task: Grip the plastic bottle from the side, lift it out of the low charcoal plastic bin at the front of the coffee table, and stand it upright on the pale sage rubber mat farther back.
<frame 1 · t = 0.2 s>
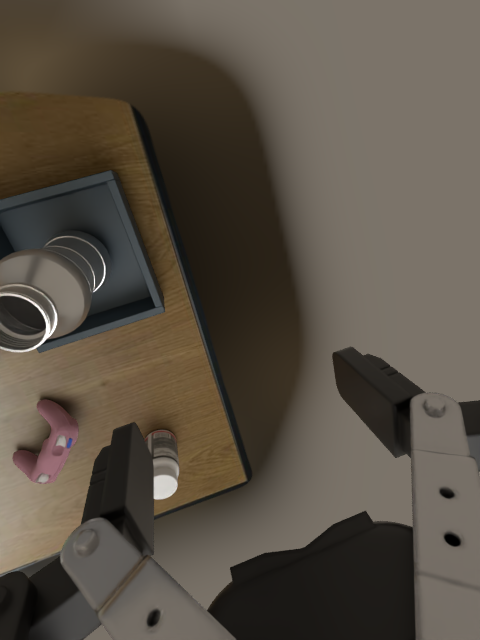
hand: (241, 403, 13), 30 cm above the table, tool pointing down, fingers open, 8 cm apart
bin: (83, 257, 37), on the table
pink curved plastic piece: (52, 429, 44), on the table
pill bottle: (160, 440, 49), on the table
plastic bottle: (82, 257, 37), resting on bin
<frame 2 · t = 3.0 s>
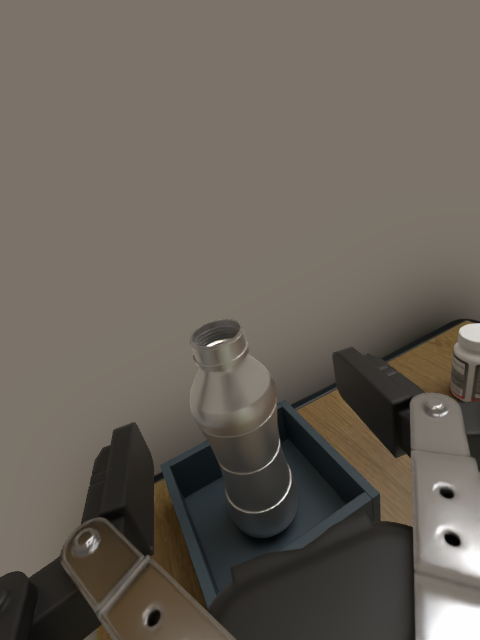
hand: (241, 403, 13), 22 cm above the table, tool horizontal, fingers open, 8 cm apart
bin: (267, 515, 32), on the table
pill bottle: (473, 393, 39), on the table
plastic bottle: (267, 513, 32), resting on bin
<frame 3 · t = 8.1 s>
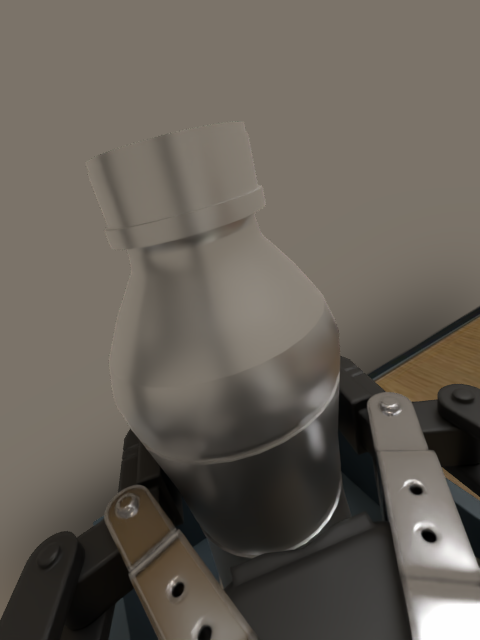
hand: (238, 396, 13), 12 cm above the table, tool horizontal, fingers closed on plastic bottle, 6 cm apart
bin: (306, 612, 16), on the table
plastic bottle: (305, 608, 16), resting on bin, touching gripper
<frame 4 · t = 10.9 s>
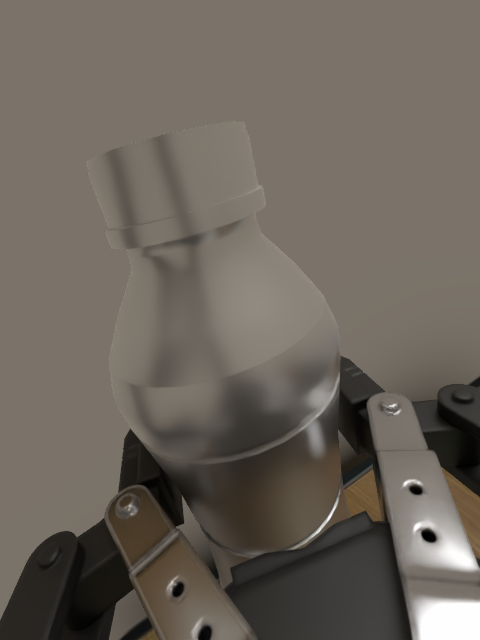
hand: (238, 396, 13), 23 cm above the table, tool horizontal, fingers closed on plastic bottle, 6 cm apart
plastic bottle: (305, 608, 16), point 11 cm above the table, touching gripper
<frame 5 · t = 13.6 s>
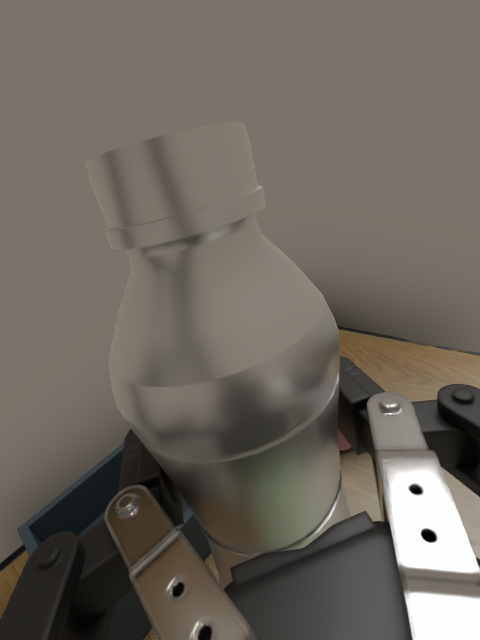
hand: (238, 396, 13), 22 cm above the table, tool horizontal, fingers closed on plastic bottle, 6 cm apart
bin: (142, 538, 33), on the table
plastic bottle: (305, 608, 16), point 11 cm above the table, touching gripper
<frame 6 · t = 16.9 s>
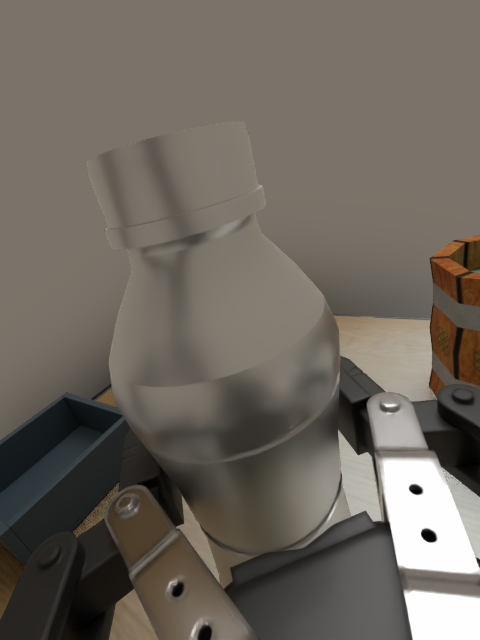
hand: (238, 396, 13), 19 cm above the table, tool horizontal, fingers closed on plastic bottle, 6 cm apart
bin: (64, 480, 38), on the table
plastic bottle: (305, 608, 16), point 8 cm above the table, touching gripper
when the fingers open (12 cm above the table, at t = 19.5 s): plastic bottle stays where it is, resting on mat.
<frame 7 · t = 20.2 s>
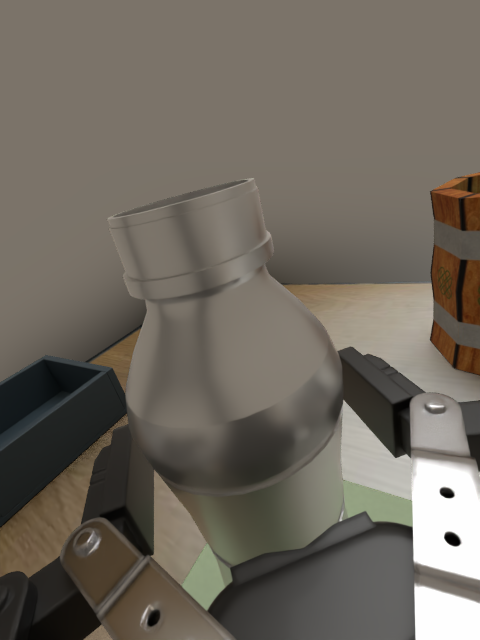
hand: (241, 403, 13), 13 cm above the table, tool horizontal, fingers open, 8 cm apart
mat: (309, 621, 17), on the table
bin: (39, 442, 35), on the table
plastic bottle: (308, 620, 16), resting on mat
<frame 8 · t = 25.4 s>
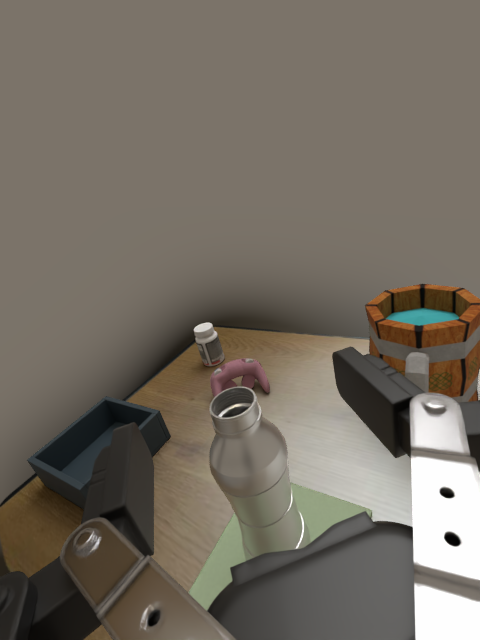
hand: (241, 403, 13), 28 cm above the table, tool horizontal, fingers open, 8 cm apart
mat: (282, 558, 34), on the table
mug: (421, 412, 46), on the table
bin: (109, 460, 52), on the table
pink curved plastic piece: (242, 393, 60), on the table
pill bottle: (214, 361, 72), on the table
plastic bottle: (281, 557, 33), resting on mat
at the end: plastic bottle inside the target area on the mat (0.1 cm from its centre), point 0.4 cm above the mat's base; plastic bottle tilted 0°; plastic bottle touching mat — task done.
